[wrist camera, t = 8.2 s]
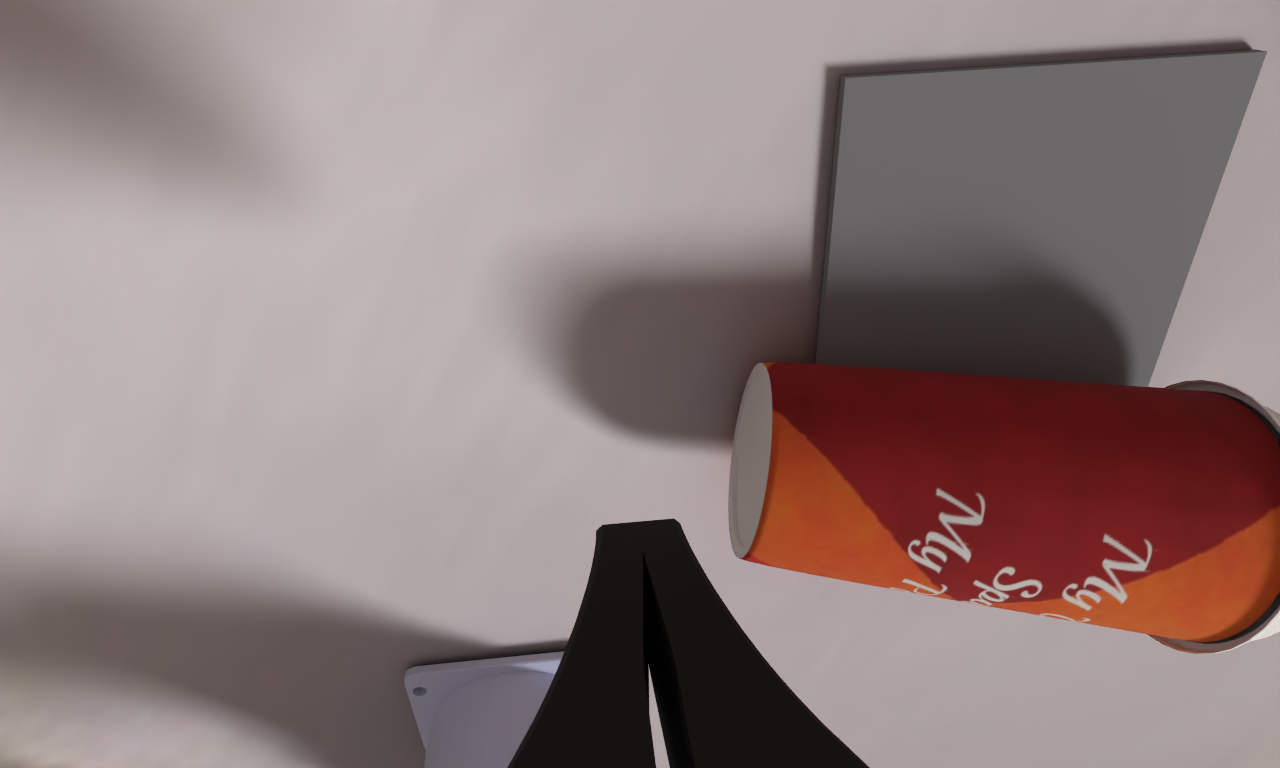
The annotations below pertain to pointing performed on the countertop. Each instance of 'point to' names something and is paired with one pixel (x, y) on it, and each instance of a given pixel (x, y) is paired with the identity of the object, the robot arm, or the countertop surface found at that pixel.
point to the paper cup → (1019, 494)
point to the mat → (1024, 212)
